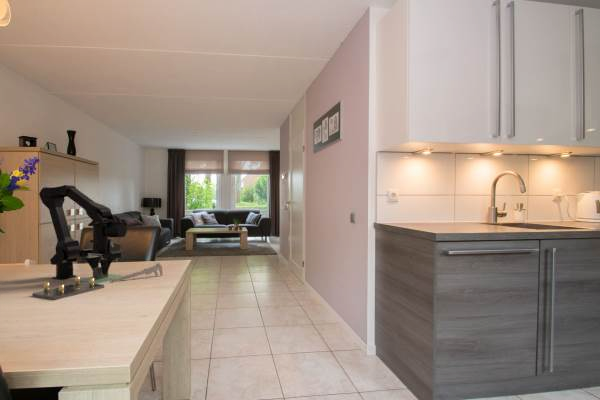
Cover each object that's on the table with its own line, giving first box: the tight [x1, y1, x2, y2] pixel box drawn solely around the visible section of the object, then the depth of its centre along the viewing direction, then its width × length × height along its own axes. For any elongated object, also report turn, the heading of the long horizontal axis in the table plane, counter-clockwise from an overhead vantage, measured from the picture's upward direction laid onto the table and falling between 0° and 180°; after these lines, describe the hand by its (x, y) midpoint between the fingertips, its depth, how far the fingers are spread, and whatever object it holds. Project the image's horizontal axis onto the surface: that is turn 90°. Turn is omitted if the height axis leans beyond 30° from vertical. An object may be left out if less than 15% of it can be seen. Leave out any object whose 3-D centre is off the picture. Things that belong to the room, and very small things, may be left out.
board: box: [80, 266, 123, 284], centre depth 146 cm, size 11×14×6 cm
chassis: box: [31, 275, 105, 301], centre depth 127 cm, size 12×18×4 cm, turn 156°
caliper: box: [109, 261, 163, 283], centre depth 148 cm, size 20×1×6 cm, turn 127°
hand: (100, 274), depth 146 cm, fingers open, 5 cm apart
